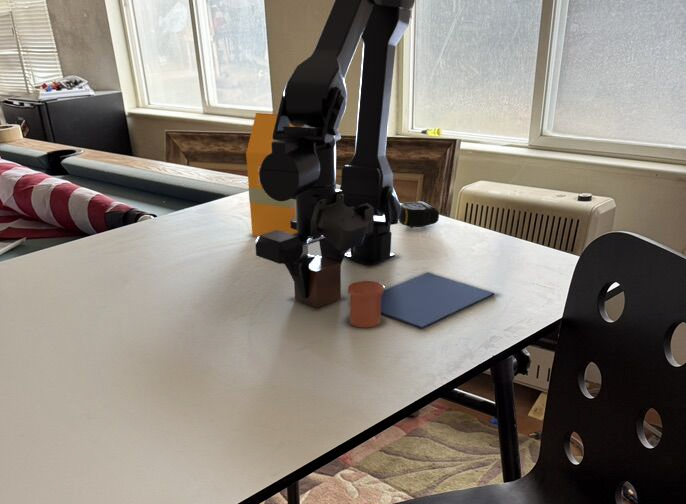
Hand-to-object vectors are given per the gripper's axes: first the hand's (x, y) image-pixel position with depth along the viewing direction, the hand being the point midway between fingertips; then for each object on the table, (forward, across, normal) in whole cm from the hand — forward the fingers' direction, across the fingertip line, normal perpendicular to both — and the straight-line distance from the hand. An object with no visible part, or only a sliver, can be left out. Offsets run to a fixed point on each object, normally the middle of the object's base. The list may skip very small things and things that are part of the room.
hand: (317, 292), depth 105 cm
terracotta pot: (+1, -1, -11) cm, 11 cm away
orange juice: (+1, +18, +29) cm, 34 cm away
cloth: (+1, +11, -12) cm, 16 cm away
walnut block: (+1, 0, 0) cm, 1 cm away
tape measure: (+1, +39, +13) cm, 41 cm away
